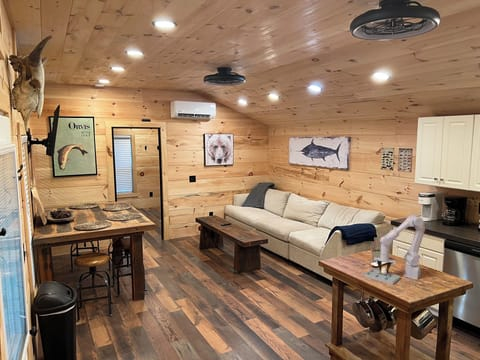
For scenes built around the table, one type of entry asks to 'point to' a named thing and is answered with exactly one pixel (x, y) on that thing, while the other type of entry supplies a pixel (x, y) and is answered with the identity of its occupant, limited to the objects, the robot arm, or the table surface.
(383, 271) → the egg
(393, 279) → the grey compartment tray
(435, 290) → the table surface
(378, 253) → the food container
